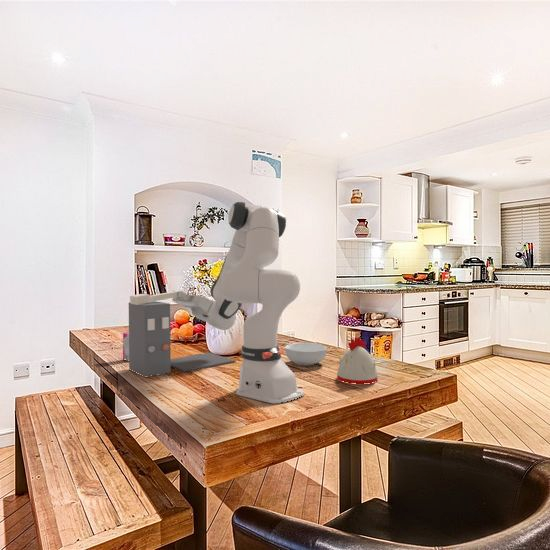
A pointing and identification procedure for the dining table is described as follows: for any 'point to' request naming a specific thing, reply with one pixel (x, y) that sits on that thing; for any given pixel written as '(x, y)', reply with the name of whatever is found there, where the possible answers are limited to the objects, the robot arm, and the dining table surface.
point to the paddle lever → (152, 297)
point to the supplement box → (126, 346)
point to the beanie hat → (357, 364)
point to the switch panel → (149, 338)
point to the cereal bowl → (306, 353)
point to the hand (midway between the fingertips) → (175, 292)
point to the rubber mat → (199, 361)
